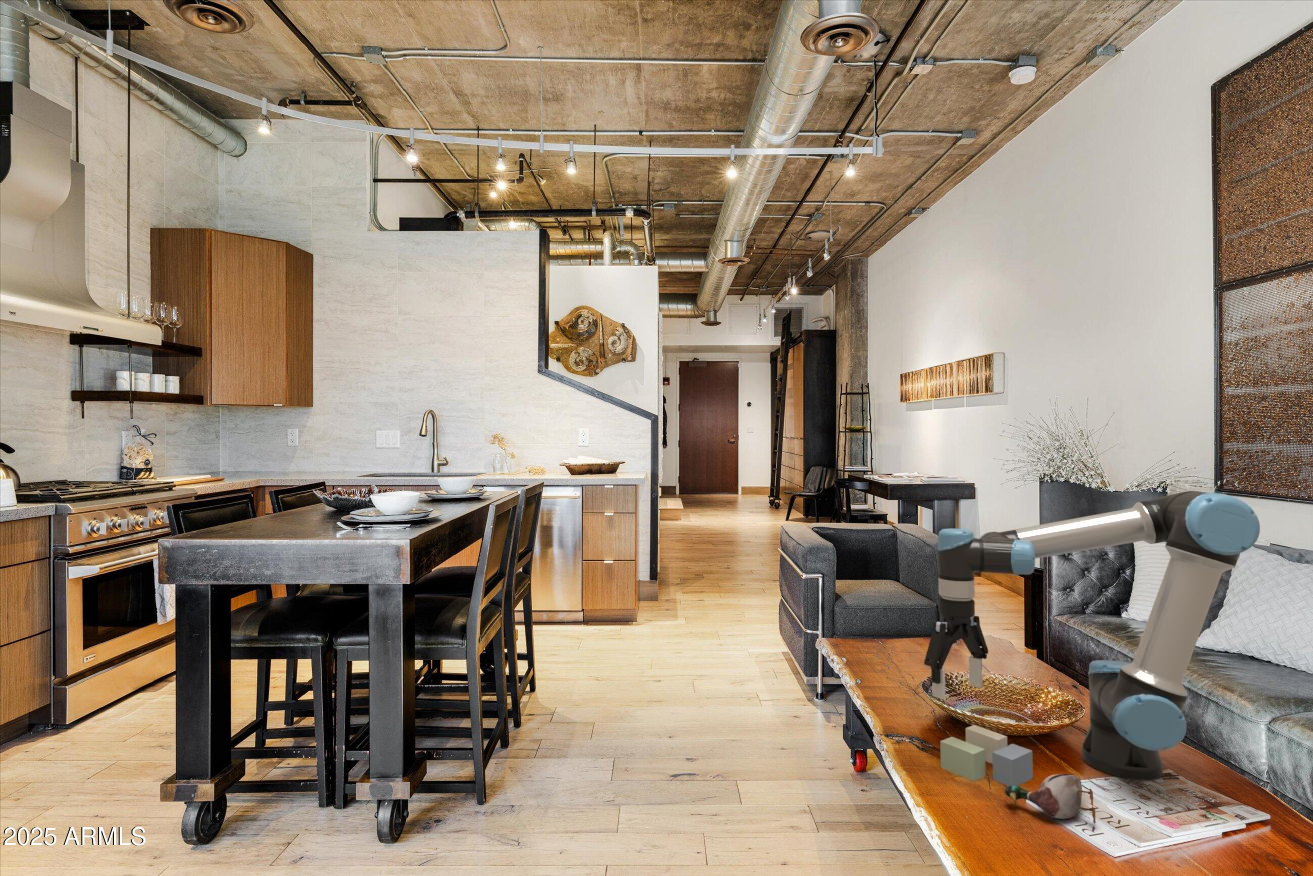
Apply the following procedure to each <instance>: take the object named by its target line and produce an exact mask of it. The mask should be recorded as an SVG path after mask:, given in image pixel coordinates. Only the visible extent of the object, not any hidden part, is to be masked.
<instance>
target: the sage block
mask: <svg viewBox="0 0 1313 876" xmlns="http://www.w3.org/2000/svg"><path fill="white" fill-rule="evenodd" d="M939 743H940V744H939V745H940V746H939V747H940V751H939V752H940V768H941V769H943V770H946V771H948V772H950V773H952V774H955V775H957V776H959V777H962V778H964V779H967V780H969V781H971V782H973V783H974V782H976V781H980V780H981V779H984V778H986V772H987V771H986V761H985V749H983V748H981V747H978V746H975V745H973V744H970V743H967V742H966V740H962V739H959V738H956V737H954V736H950V737H948V738H947V737H946V738H944V739H943V740H940V742H939Z"/></svg>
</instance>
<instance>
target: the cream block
mask: <svg viewBox="0 0 1313 876" xmlns="http://www.w3.org/2000/svg"><path fill="white" fill-rule="evenodd" d="M965 742H967V743H970V744H973V745H975V746H978V747H981V748H983V749H985V763H986V762H987V763H989V764H992V765H993V754H992V752H995V751H997V750H999V749H1002V748H1004V747H1006V746H1008V736H1007V735H1004V734H1001V733H998V732H996V731H992V730H990V729H987V728H985V727H981V726H978V725H976V724H973V725H970V726H967V727H965Z"/></svg>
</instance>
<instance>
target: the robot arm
mask: <svg viewBox="0 0 1313 876" xmlns="http://www.w3.org/2000/svg"><path fill="white" fill-rule="evenodd" d="M1260 532H1261V525H1260V521H1259V518H1258V516H1257V514H1256V512H1255V511H1254V510H1253V509H1252V508H1251V506H1250V505H1249V504H1247V503H1246V502H1245V501H1243V500H1242V499H1239V498H1237V497H1234V496H1231V495H1229V494H1226V493H1220V492H1205V491H1204V492H1203V491H1198V490H1197V491H1196V490H1187V491H1181V492H1177V493H1172V494H1169V495H1166V496H1160V497H1156V498H1151V499H1149V500H1144V501H1143V500H1142V501H1139V502H1138V501H1137V502H1135V503H1134V505H1133V506H1132V507H1130V508H1124V509H1120V510H1114V511H1109V512H1102V513H1098V514H1092V515H1086V516H1082V517H1076V518H1070V519H1064V520H1060V521H1053V522H1048V523H1042V524H1037V525H1032V526H1028V527H1027V526H1026V527H1021V528H1015V529H1011V530H1006V531H1005V530H1003V531H1000V532H999V531H989V532H986V533H984V534H982V535H981V536H980V537H979V538H977V537H975V534H974V532H973V531H972V530H971V529H966V528H951V527H950V528H942V529H941V530H940V531H939V532H938V534H937V570H938V571H937V572H938V573H937V576H938V594H939V598H938V612H939V614H940V615H941V616H942V622H940V621H933V624H932V633H931V637H930V640H929V643H928V647H927V651H926V655H925V658H924V660H923V661H924V662H923V663H924V666H927V667H930V668H931V669H930V671H931V673H930V674H931V683H932V685H931V686H932V688H931V689H932V695H931V696H932V697H935V698H938V699H941V700H946V669H945V668H943V667H944V664H945V662H946V660H947V657H948V656H949V653H950V651H951V649H952V646H953V645H954V644H956V643H957V641H959V640H962V641H963V643H964V645H965V646H966V648H967V650H968V652H969V653H970V655H971V656H968V682H969V683H968V684H969V686H971V687H975V688H979V689H982V688H983V672H982V670H983V660H986V659H987V657H988V654H989V648H988V645H987V643H986V640H985V637H984V634H983V630H982V627H981V621H980V617H979V616H978V615H975V613H976V611H975V609H976V608H975V607H976V606H975V602H976V601H975V600H974V599H973V598H975V596H976V594H975V593H976V592H975V573H982V574H983V573H989V574H990V573H991V574H1005V575H1015V576H1018V575H1031V574H1033V573H1034V571H1035V568H1036V567H1035V566H1036V559H1041V558H1046V557H1047V558H1048V557H1053V556H1059V555H1065V554H1072V553H1076V552H1077V553H1078V552H1083V551H1089V550H1095V549H1096V550H1097V549H1102V548H1107V547H1113V546H1119V545H1126V544H1133V543H1138V542H1145V543H1147V544H1149V545H1155V544H1159V543H1165V546H1164V547H1165V549H1166V550H1167V552H1168V554H1169V556H1170V558H1169V561H1168V563H1167V567H1166V569H1165V572H1164V575H1163V578H1162V579H1161V580H1162V581H1161V584H1160V586H1159V589H1158V592H1157V594H1156V597H1155V600H1154V602H1153V605H1152V608H1151V611H1150V614H1149V616H1148V618H1147V622H1146V624H1145V626H1144V630H1143V633H1142V635H1141V637H1140V641H1139V643H1138V645H1137V649H1136V653H1135V655H1134V657H1133V659H1132V662H1128V661H1121V660H1107V659H1097V660H1093V661H1091V662H1090V663H1089V667H1088V673H1087V675H1088V686H1089V687H1088V692H1089V727H1088V730H1087V732H1086V734H1085V737H1084V741H1083V742H1082V746H1081V757H1082V759H1083V761H1084V762H1085V763H1086V764H1087V765H1089V766H1091V767H1092V768H1094V769H1096V770H1098V771H1101V772H1103V773H1106V774H1109V775H1111V776H1115V777H1120V778H1125V779H1130V780H1137V781H1138V780H1140V781H1151V780H1156V779H1157V780H1158V779H1160V778H1161V777H1162V776H1163V774H1164V773H1163V772H1164V769H1163V760H1162V759H1161V756H1160V753H1159V751H1160V752H1161V751H1166V750H1168V749H1172V748H1174V747H1176V746H1178V744H1180V743H1181V741H1182V740H1183V739H1184V737H1185V736H1186V733H1187V720H1186V717H1185V714H1184V713H1183V709H1184V706H1185V705H1186V702H1187V701H1186V700H1187V699H1188V695H1189V693H1188V691H1187V690H1186V689H1185V686H1184V685H1183V681H1184V678H1185V675H1186V673H1187V672H1186V671H1187V669H1188V667H1189V664H1190V661H1191V659H1192V656H1193V653H1194V651H1195V648H1196V645H1197V642H1198V641H1199V640H1198V639H1199V637H1200V634H1201V632H1202V629H1203V626H1204V622H1205V621H1206V619H1207V615H1208V613H1209V609H1210V607H1211V604H1212V601H1213V598H1214V596H1215V593H1216V590H1217V588H1218V585H1219V583H1220V580H1221V577H1222V575H1223V573H1224V572H1227V571H1230V570H1233V569H1235V567H1236V566H1237V563H1238V560H1239V558H1240V555H1241V553H1244V552H1246V551H1248V550H1250V549H1251V548H1252V547H1253V546H1254V545H1255V544H1256V542H1257V541H1258V539H1259V536H1260Z"/></svg>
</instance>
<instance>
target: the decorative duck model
mask: <svg viewBox="0 0 1313 876" xmlns="http://www.w3.org/2000/svg"><path fill="white" fill-rule="evenodd" d="M1082 785H1083V784H1082V780H1081V778H1080V777H1079V776H1078V775H1075V774H1072V773H1057V774H1051V775H1049V776H1047V777H1046V778H1044V779H1043V781H1042V782H1041V784H1040V787H1038V789H1037V790H1035V791H1029V790H1026V789H1024V788H1022V787H1020V786H1015V785H1013V786H1006V787H1005V790H1004V794H1005V796H1007V797H1009V798H1010V799H1011V800H1012V801H1013V803H1014V804H1017V801H1018V800H1021V799H1022V800H1027V801H1028V802H1031V803H1033V804H1034V805H1036V806H1037V807H1038V808H1039V809H1041V810H1042V811H1043V812H1044V813H1045V814H1047V815H1048V816H1050V817H1052V818H1054V819H1060V820H1061V819H1062V820H1066V819H1071V818H1073V817H1075V816H1076V815H1077V814H1078V813H1079V812H1080V810H1083V811H1090V812H1091V816H1092V818H1093V823H1094V824H1096V808H1095V807H1094V806H1093V805H1094V793H1093V790H1092V789H1091V788H1089V789H1088V790H1089V791H1088V790H1083V786H1082ZM1083 793H1085V794H1087V795H1089V800H1090V804H1091V808H1087V807H1082V799H1083V798H1082V796H1083Z"/></svg>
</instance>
